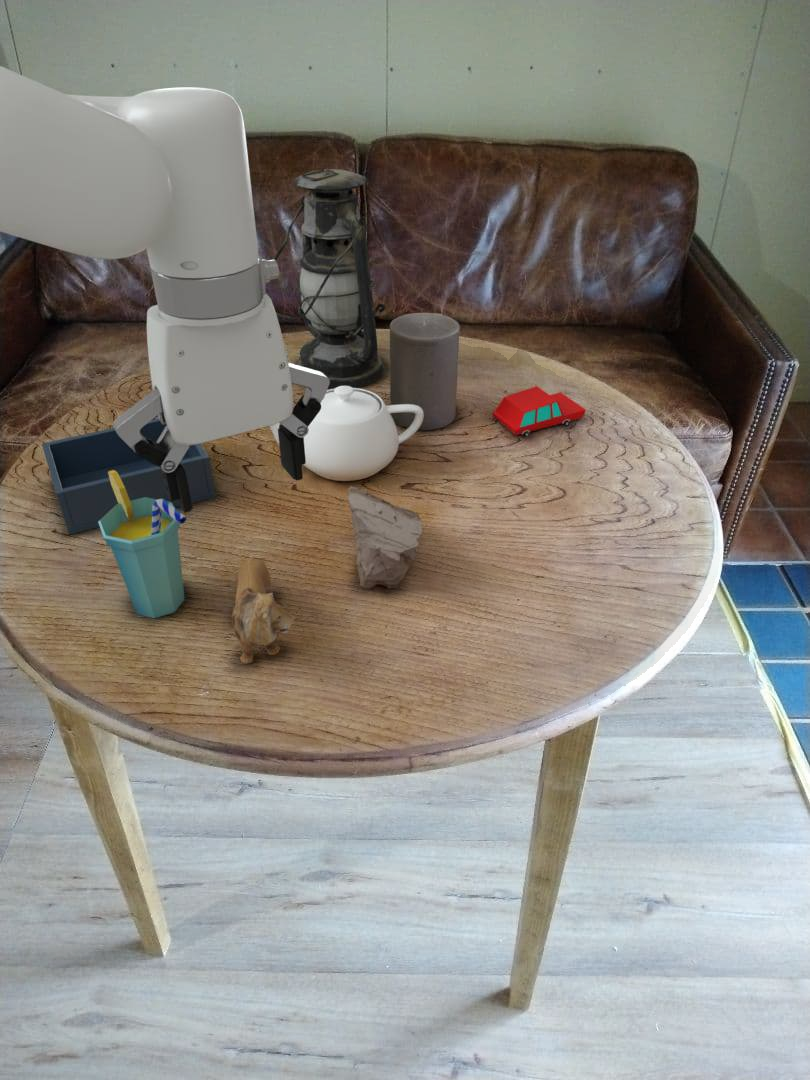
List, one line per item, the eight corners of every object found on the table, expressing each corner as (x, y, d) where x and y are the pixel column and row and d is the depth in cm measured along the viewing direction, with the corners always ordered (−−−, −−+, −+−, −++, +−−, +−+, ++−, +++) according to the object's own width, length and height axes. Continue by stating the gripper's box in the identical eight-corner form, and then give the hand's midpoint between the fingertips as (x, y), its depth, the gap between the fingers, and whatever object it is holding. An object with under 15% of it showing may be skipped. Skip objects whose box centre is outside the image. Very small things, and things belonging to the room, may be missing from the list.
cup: (236, 614, 82) (216, 493, 73) (174, 656, 77) (144, 531, 68) (154, 560, 89) (126, 443, 80) (93, 595, 84) (56, 475, 75)
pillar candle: (381, 425, 114) (378, 324, 105) (402, 395, 121) (402, 299, 112) (446, 435, 111) (449, 333, 102) (464, 405, 119) (468, 307, 110)
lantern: (412, 376, 127) (413, 174, 108) (314, 413, 117) (297, 197, 99) (341, 340, 138) (332, 152, 120) (247, 371, 128) (221, 171, 110)
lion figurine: (303, 676, 75) (295, 605, 69) (246, 691, 73) (234, 619, 68) (269, 582, 86) (260, 514, 80) (219, 593, 84) (207, 525, 79)
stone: (425, 612, 82) (461, 524, 83) (359, 583, 78) (399, 490, 79) (354, 586, 95) (386, 509, 96) (294, 560, 90) (329, 479, 91)
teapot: (412, 430, 113) (413, 359, 106) (434, 481, 102) (436, 406, 95) (255, 445, 109) (246, 373, 103) (261, 500, 98) (251, 423, 92)
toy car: (585, 421, 115) (589, 395, 112) (515, 439, 111) (517, 413, 108) (558, 402, 120) (562, 377, 117) (490, 419, 115) (492, 394, 113)
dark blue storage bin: (69, 535, 93) (55, 493, 89) (53, 482, 102) (41, 443, 98) (216, 496, 99) (209, 456, 96) (189, 450, 108) (182, 412, 105)
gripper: (299, 254, 63) (314, 443, 73) (73, 292, 56) (125, 494, 66) (341, 282, 58) (351, 481, 68) (97, 328, 51) (149, 541, 61)
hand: (239, 487), depth 67 cm, fingers open, 9 cm apart
